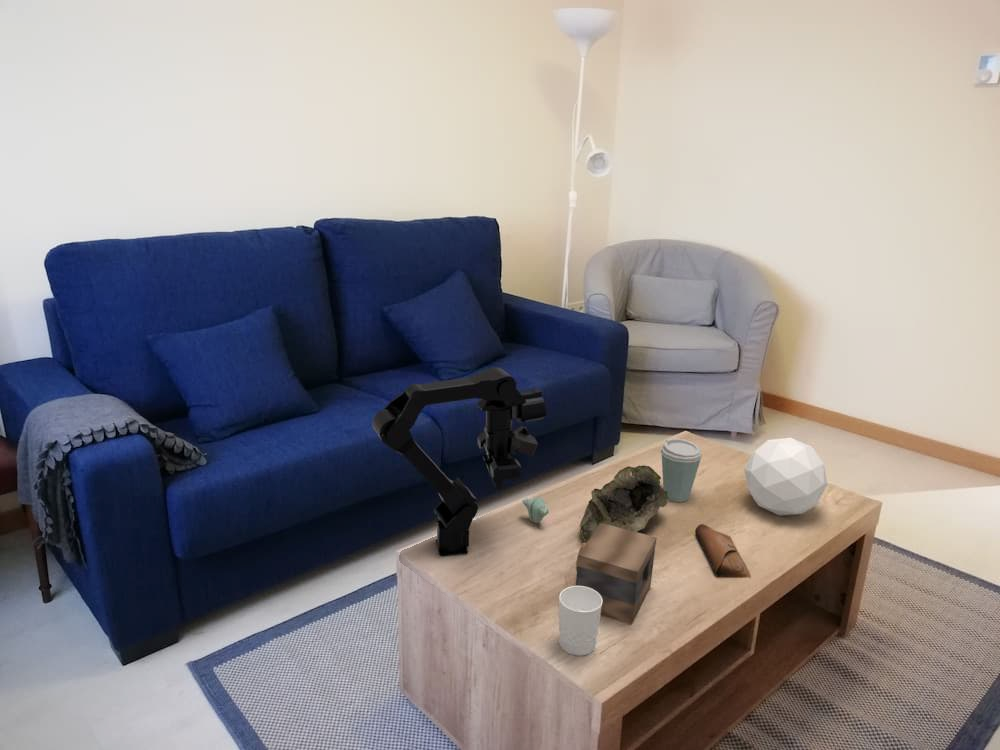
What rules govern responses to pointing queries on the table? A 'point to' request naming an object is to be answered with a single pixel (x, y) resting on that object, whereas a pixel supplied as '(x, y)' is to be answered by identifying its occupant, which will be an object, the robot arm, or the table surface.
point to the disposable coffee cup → (679, 467)
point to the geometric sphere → (785, 476)
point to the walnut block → (617, 570)
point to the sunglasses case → (721, 553)
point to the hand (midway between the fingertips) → (498, 488)
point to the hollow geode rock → (625, 501)
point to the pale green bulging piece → (536, 508)
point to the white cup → (579, 619)
